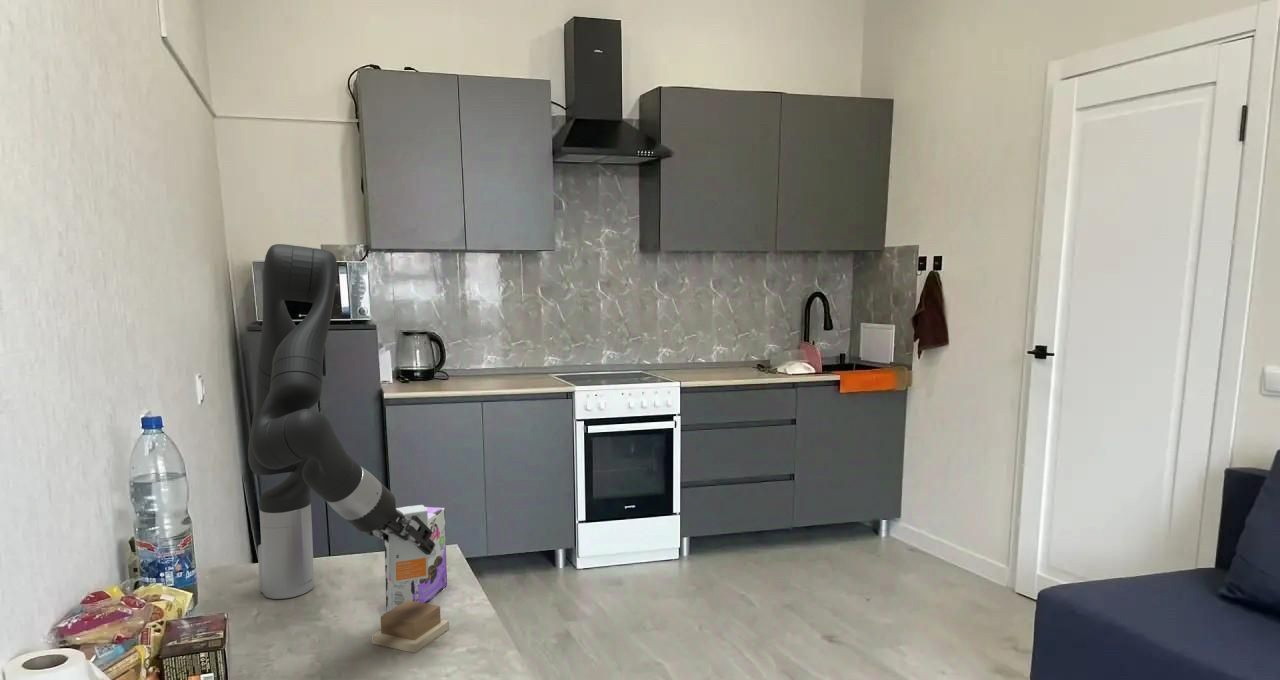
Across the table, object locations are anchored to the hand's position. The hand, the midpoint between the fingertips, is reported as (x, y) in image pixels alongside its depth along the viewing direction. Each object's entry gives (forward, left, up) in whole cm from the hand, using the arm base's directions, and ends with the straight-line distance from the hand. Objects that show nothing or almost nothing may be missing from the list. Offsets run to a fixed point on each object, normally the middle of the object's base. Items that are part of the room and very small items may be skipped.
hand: (415, 546), depth 126 cm
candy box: (-9, +12, -16) cm, 22 cm away
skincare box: (0, -2, -5) cm, 5 cm away
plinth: (0, -1, -15) cm, 16 cm away
